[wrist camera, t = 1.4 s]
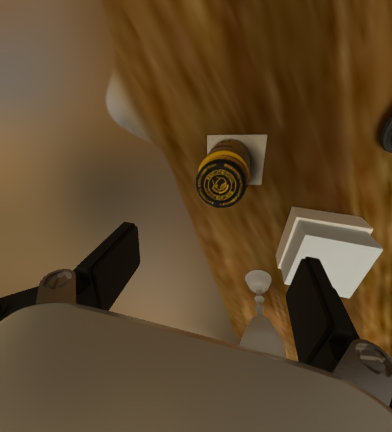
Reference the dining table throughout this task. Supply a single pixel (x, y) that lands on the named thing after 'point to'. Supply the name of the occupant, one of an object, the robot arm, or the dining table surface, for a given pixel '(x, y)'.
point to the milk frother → (387, 136)
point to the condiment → (230, 168)
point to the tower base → (316, 217)
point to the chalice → (261, 319)
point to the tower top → (332, 254)
